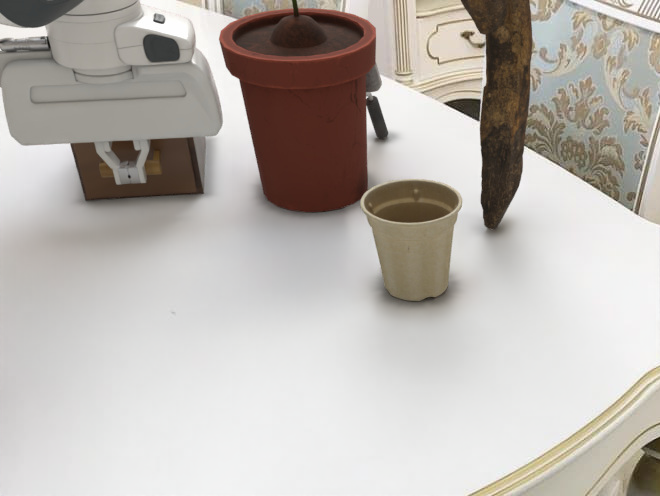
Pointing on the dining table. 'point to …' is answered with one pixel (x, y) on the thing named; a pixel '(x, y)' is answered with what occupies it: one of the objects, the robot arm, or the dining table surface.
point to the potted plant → (307, 102)
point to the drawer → (161, 169)
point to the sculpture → (503, 99)
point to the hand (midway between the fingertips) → (131, 181)
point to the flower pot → (413, 234)
